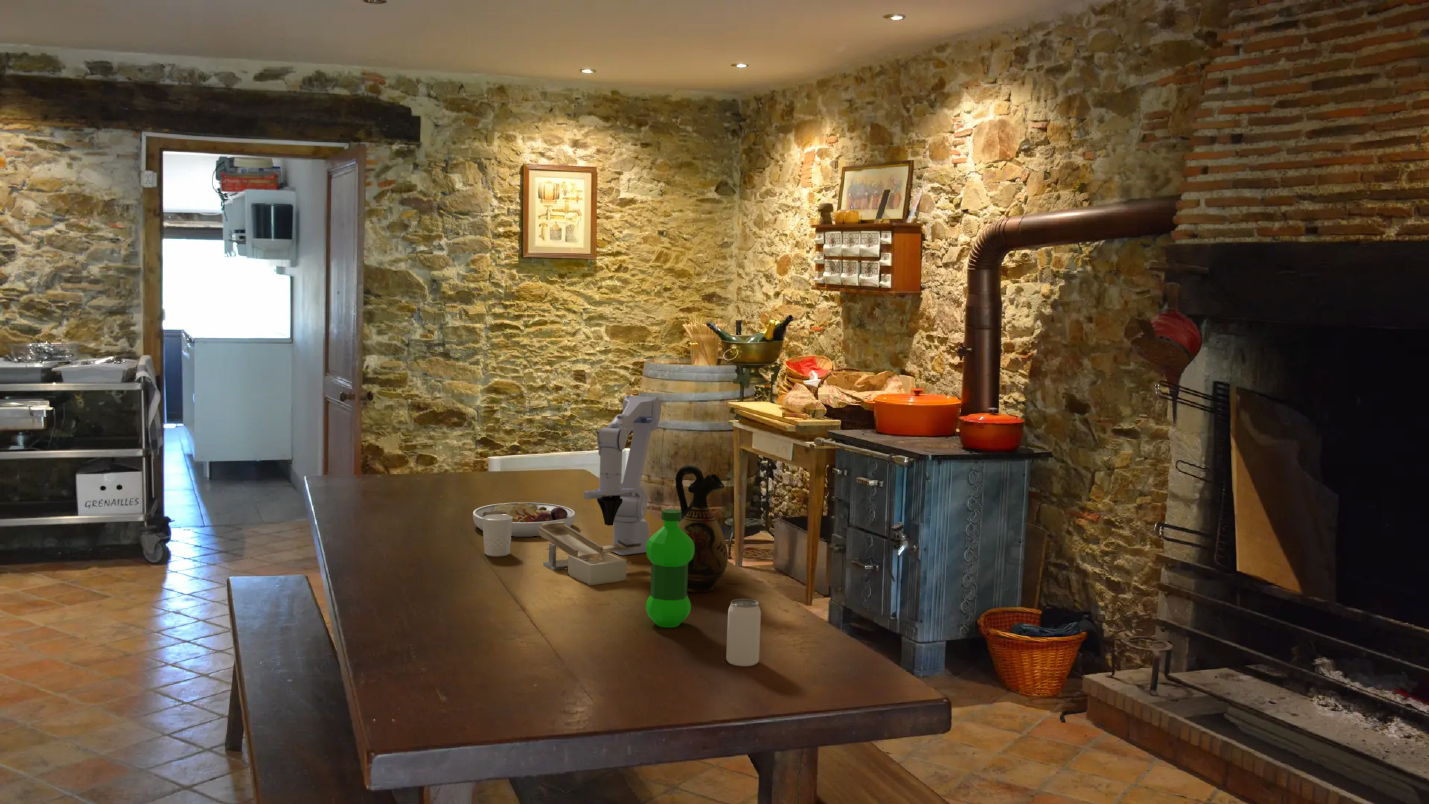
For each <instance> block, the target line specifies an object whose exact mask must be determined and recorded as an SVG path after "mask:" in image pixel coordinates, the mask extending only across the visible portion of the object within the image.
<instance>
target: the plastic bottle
mask: <svg viewBox="0 0 1429 804" xmlns="http://www.w3.org/2000/svg"><path fill="white" fill-rule="evenodd" d="M680 510H681V509H680ZM680 510H679V509H675V508H674V509H673V508H669V509H668V508H667V509H662V510H661V513H660V515H661V520H662V521H663V526H662V527H660V529H659V530H657V531H656V532H654V533H653V534H652V536H649V539H648V542H647V544H646V552H645V553H646V558H647V559H648V560H649V561H650V562H651V565H650V566H651V567H650V592H649V593H650V594H649V596H648V598H647V600H646V602H645V611H646V615H647V616H648V617H649V618H650V619H651V620H652V621H653V622H654V623H655V625H657V627H661V628H676V627H679V626H680V624H681V623H683V622H684V621H685V620H686V618H688V616H689V615H690V613H691V610H692V603H691V600H690V599H689V596H688V591H687V580H688V563H689V562H690V560H691V559H692V558H693V556H694V551H695V546H694V543H693V540H692V539H691V538H690V537H689V536H688V535H687V534H686V533H685V532H684V531H683V530H682V529H680V528H679V527H678V526H679V521H680V520H681V512H682V511H680Z"/></svg>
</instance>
